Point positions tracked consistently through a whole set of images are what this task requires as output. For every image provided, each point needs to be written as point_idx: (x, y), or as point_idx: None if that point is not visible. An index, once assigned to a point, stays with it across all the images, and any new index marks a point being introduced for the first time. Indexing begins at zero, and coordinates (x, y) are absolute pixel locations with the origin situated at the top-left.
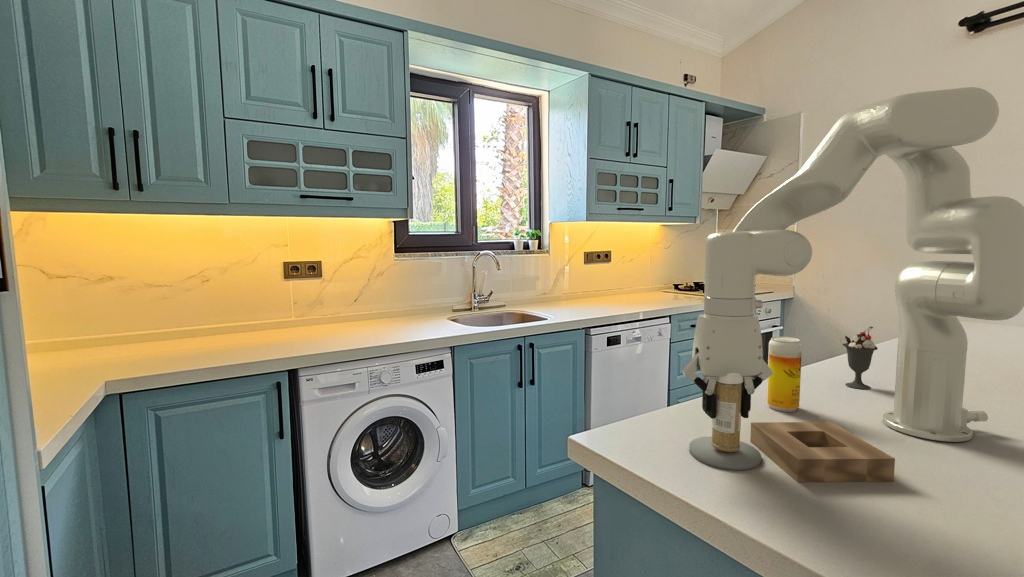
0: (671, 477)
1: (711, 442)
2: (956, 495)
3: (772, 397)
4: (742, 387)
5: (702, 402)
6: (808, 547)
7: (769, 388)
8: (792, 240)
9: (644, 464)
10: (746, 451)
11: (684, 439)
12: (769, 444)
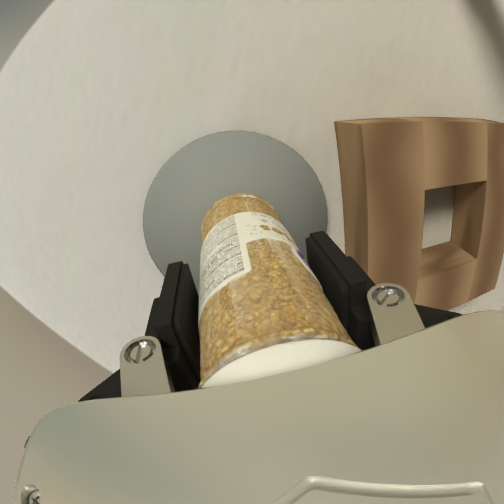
0: (116, 343)
1: (201, 233)
2: (495, 287)
3: None
4: (365, 339)
5: (151, 313)
6: None
7: None
8: None
9: (63, 306)
10: (295, 224)
11: (138, 140)
12: (358, 231)
